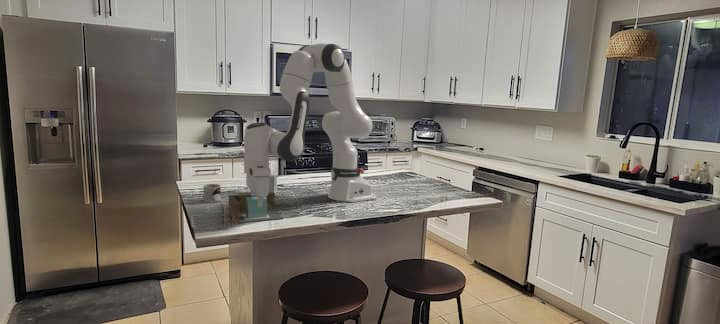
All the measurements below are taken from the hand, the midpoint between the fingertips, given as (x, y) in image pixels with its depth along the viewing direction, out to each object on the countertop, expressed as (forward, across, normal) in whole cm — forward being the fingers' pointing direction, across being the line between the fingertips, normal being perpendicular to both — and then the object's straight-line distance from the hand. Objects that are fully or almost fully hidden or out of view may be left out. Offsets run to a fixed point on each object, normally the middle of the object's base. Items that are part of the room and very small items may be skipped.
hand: (256, 203), depth 155 cm
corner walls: (+5, -2, 0) cm, 6 cm away
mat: (+5, -1, +1) cm, 6 cm away
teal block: (+5, 0, 0) cm, 5 cm away
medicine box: (+6, -34, +13) cm, 37 cm away
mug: (+6, -29, -11) cm, 32 cm away
